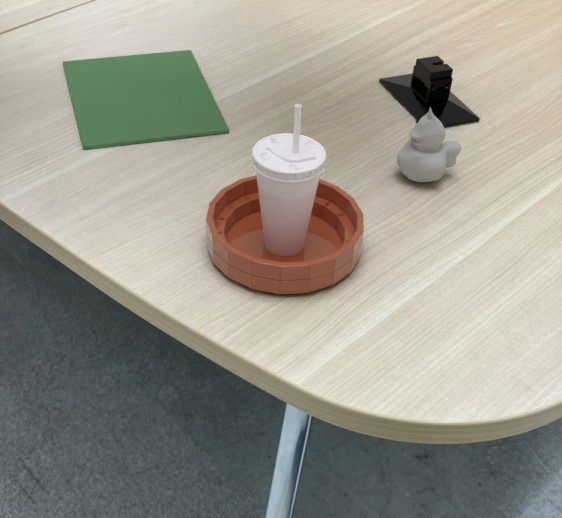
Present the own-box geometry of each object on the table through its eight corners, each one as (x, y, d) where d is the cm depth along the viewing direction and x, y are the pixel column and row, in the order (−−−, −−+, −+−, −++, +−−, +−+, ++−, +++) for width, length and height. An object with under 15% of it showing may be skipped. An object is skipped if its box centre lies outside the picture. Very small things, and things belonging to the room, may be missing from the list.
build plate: (479, 122, 92) (489, 84, 88) (425, 132, 89) (432, 94, 86) (427, 73, 99) (434, 36, 96) (376, 81, 97) (381, 44, 94)
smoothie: (305, 272, 71) (316, 131, 61) (239, 254, 72) (239, 113, 62) (327, 232, 75) (341, 94, 65) (264, 216, 76) (268, 78, 66)
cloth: (83, 149, 84) (82, 146, 83) (63, 64, 97) (62, 61, 96) (229, 132, 87) (229, 129, 87) (190, 52, 100) (190, 49, 100)
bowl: (229, 309, 68) (228, 278, 65) (193, 213, 77) (191, 182, 74) (382, 283, 71) (387, 253, 68) (330, 194, 80) (333, 164, 78)
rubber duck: (387, 164, 84) (399, 94, 78) (446, 160, 85) (461, 91, 80) (402, 193, 81) (415, 121, 75) (462, 189, 82) (480, 118, 76)
